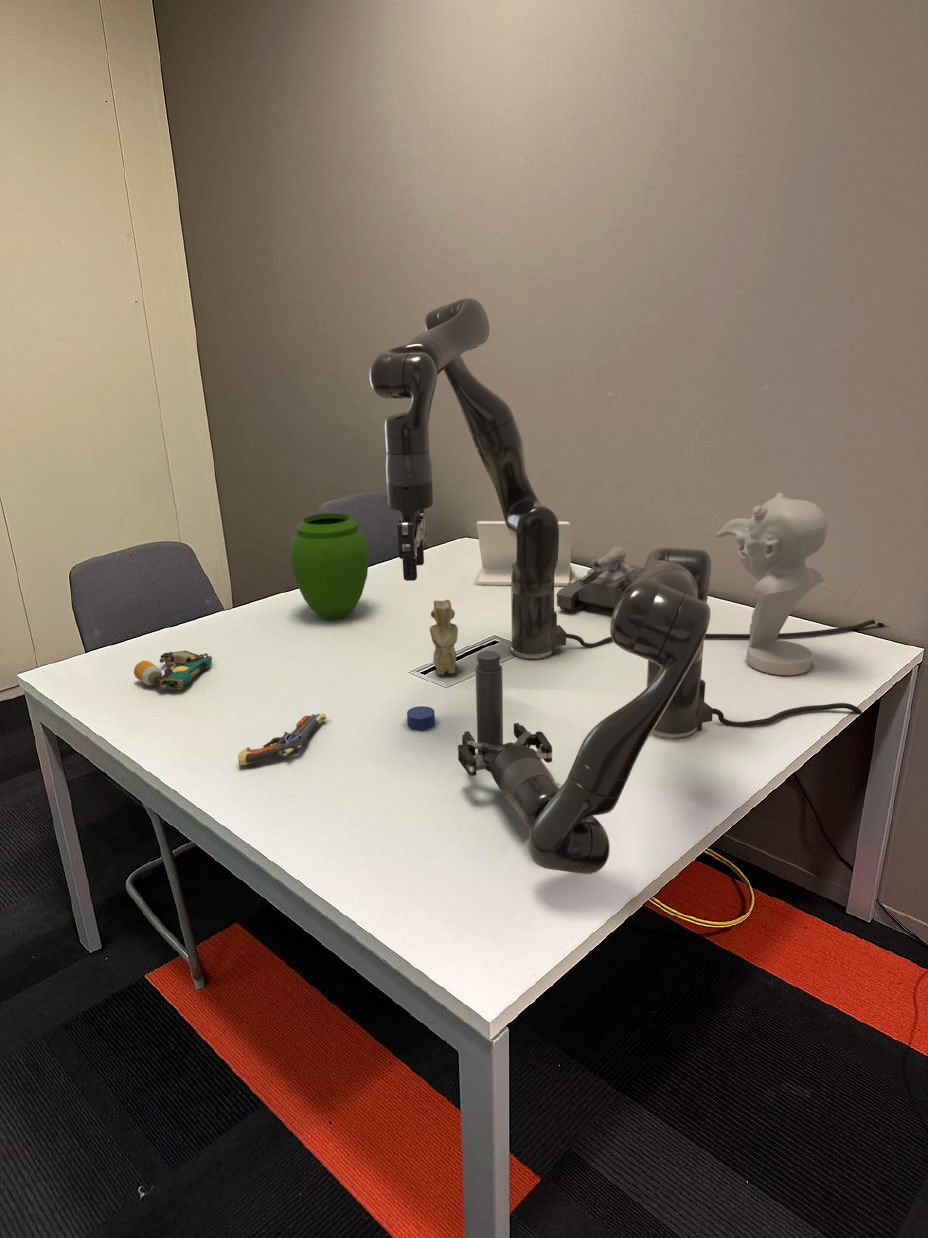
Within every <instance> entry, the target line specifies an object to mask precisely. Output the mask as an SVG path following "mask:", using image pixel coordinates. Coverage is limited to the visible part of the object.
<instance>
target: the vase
mask: <svg viewBox="0 0 928 1238" xmlns="http://www.w3.org/2000/svg"><path fill="white" fill-rule="evenodd" d="M358 524H359V523H358V521H356V520H355V519H353V518H352V517H350V516H349V515H347V514H344V513H335V512H334V513H333V512H331V513H320V514H313V515H310V516H307V517H305V518H303V519H302V520H301V521H300V522H299V523H298V524H297V525H296V526H295V532H296V533H295V534H294V536H293V537H292V538H291V540H290V542H289V551H288V559H289V564H290V566H291V567H290V568H291V570H292V575H293V578H294V581H295V584H296V586H297V587H298V589H299V591H300V593H301V596H302V597H303V600H304V601H305V603H306V604H307V605H308V607H309V608H310V609H311V611H312V612H314V613H315V614H316V615H317V616H318V617H320V618H324V619H326V620H327V619H329V620H336V619H341V618H345V617H347V616H349V615H350V614H351V613H352V612H353V611H354V610H355V608H356V607H357V605H358V604H359V601H360V599H361V597H362V595H363V592H364V588H365V586H366V581H367V578H368V570H369V561H370V560H369V559H370V548H369V545H368V541H367V537H366V535H365V534H364V533H363V532H362V531H361V530H360V529H359V527H358Z"/></svg>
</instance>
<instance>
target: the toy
mask: <svg viewBox="0 0 928 1238" xmlns="http://www.w3.org/2000/svg"><path fill="white" fill-rule="evenodd" d="M626 557H627V556H626V551H625V549H624V548H622V547H621V546H614V547H612V548H611V549H610V550H609V552H608V553H607V554H605V555H604V556H601V557H599V558H598V559H597V557H596V558H594V559H593V560H592V561H590V562H589V563H590V564H591V565H592V567H591V568H590V569H589V570H587V573H586V575H584V576H582V577H580V578H578V579H577V580H575V581H573V582H570V583H569V585H567V586H563V587H562V588H560V589H559V590H558V591H557V592H556V607H558V608H559V609H560V610H562V611H566V612H572V613H575V612H577V611H579V610H581V609H582V608H585V607H586V606H588V605H592V606H598V607H602V608H603V607H604V608H609V609H613V610H614V609H615V607H616V604H617V602H618V601H619V599H620V597H621V596H622V594H623V593H624V591H625V590H626V589H627V588H628V586H629V585H630V584H631V583H633V582H634V581H635V580H637V578H638V577H639V575H640V574H641V573H642V572H643V570H644V567H641V566H635V565H629V564H628V563H627V562H626V561H625V559H626Z"/></svg>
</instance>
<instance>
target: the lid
mask: <svg viewBox="0 0 928 1238" xmlns="http://www.w3.org/2000/svg"><path fill="white" fill-rule="evenodd" d="M406 721H407V722H406V723H407V727H408V728H409V729H410V730H412V731H420V732H421V731H428V730H430V729H432V728H434V726H436V712H435V709H434V708H432V707H430V706H425V705H420V706H418V705H417V706H413V707H411V708H409V709H408V710H407V711H406Z"/></svg>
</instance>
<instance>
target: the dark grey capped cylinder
mask: <svg viewBox="0 0 928 1238" xmlns="http://www.w3.org/2000/svg"><path fill="white" fill-rule="evenodd" d="M476 661H477V665H476V666H475V699H476V701H475V703H476V734H477V735H476V742H478V743H483V742H486V743H489V744H492V745H501V744H504V700H503V698H504V696H503V694H504V693H503V692H504V691H503V689H504V688H503V666H502V665H501V654H500V653H499V652H497V651H494V650H483V651H480V652H478V653H477V655H476ZM488 752H489V751H488V750H487V753H488Z"/></svg>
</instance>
